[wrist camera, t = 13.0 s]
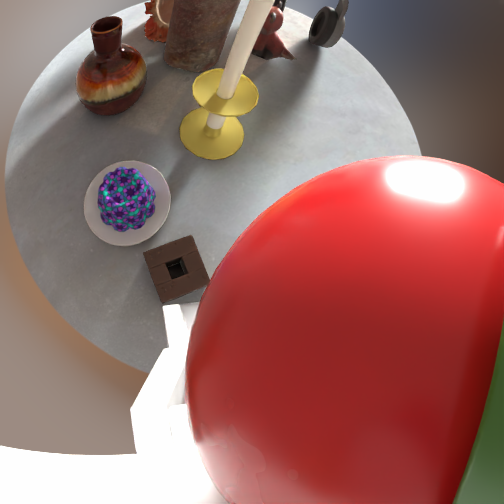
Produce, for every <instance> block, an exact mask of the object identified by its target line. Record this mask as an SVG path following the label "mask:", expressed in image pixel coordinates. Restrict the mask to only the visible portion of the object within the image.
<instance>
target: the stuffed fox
mask: <svg viewBox="0 0 504 504" xmlns="http://www.w3.org/2000/svg"><path fill="white" fill-rule="evenodd" d="M281 7H282V2H281V1H280V2H279V4H277V6H276V7H272V8H271V10H270V12H269V14H268V16H267V18H266V20H265V22H264V24H263V27H262V29H261V31H260V33H259V35H258V37H257V40H256V42H255V44H254V46H253V49H252V54H253V55H256V56H259V57H261V58H264V59H266V60H269V59H273V58H278V57H283V58H285V59H290V60H293V59H296V58H295V57H294V56H293V55H292V54H291V53H290V52H289V51H288V50H287V49H286V48H285V47H284V44H283V42H282V40H281V38H280V37H279V35H278V34H277V32H276V31H277V30H278V29H279V28H280V27H281V26H282V23H283V14H282V12H281V10H280V9H279V8H281Z"/></svg>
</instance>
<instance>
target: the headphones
mask: <svg viewBox="0 0 504 504" xmlns="http://www.w3.org/2000/svg"><path fill="white" fill-rule="evenodd" d="M280 1H281V2H282V7H281V8H279V9H280V10H281V12H282V13H283V10H284V8H285V5H286V1H287V0H275V1H274V3H273V5H272V7H276V6H277V4H279V2H280ZM348 3H349V2H348V0H339V3H338V5H337V7H336V9H335V10H334V9H333V8H331V7H328V6H325V7H323V8H322V9H321V10H320V11H319V12H318V13H317V15H316V16H315V18H314V20H313V22H312V25H311V27H310V31H309V41H310V43H312V44H314V45H316V46H322V47H325V48H328V47H332V46H333V45H335V44H336V43H337V42H338V41H339V39H340V37H341V36H342V34H343V31H344V28H345V19H344V15H345V14H346V12H347V9H348Z"/></svg>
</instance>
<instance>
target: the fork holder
mask: <svg viewBox="0 0 504 504" xmlns="http://www.w3.org/2000/svg"><path fill="white" fill-rule="evenodd" d="M143 255H144V258H145V261H146V263H147V266H148V269H149V272H150V274H151V277H152V279H153V282H154V285H155V287H156V290H157V292H158V295H159V297H160V300H161V302H162V304H163V303H166V302H168V301H171V300H173V299H176V298H178V297H181V296H183V295H186V294H188V293H191V292H193V291H196V290H198V289H201V288H203V287H206V286H207V285H208V283H209V282H210V279H209V276H208V274H207V271H206V269H205V267H204V264H203V262H202V259H201V257H200V254H199V252H198V249H197V247H196V244H195V242H194V239H193V236H192V235H189V236H186V237H184V238H181V239H178V240H175V241H173V242H170V243H167V244H164V245H162V246H159V247H156V248H154V249H151V250H148V251H146V252H143ZM178 263H180V264H181V267H182V269H183V272H184V274H185V275H183V276H181V277H178V278H175V279H173V280H172V279H171V277H170V274H169V272H168V269H167V267H170V266H172V265H175V264H178Z"/></svg>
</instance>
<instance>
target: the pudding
mask: <svg viewBox="0 0 504 504" xmlns="http://www.w3.org/2000/svg"><path fill="white" fill-rule="evenodd" d="M170 204H171V195H170V190H169V186H168V184H167V182H166V179H165V178H164V177H163V175H162V174H161V173H160V172H159V171H158V170H157V169H156V168H154V167H153V166H151V165H149V164H147V163H144V162H141V161H134V160H127V161H121V162H117V163H114V164H112V165H109V166H108V167H106V168H105V169H103V170H102V171H101V172H99V173H98V174H97V175H96V176H95V178H94V179H93V180H92V181H91V183H90V185H89V187H88V189H87V191H86V194H85V198H84V215H85V219H86V222H87V224H88V226H89V228H90V229H91V231H92V232H93V233H94V234H95V235H96V236H97V237H98V238H100V239H101V240H103V241H105V242H107V243H109V244H112V245H116V246H130V245H135V244H138V243H141V242H143V241H145V240H147V239H149V238H150V237H151V236H153V235H154V234H155V233H156V232H157V231H158V230H159V229H160V228H161V227H162V225H163V224H164V222H165V220H166V218H167V216H168V213H169V210H170Z"/></svg>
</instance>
